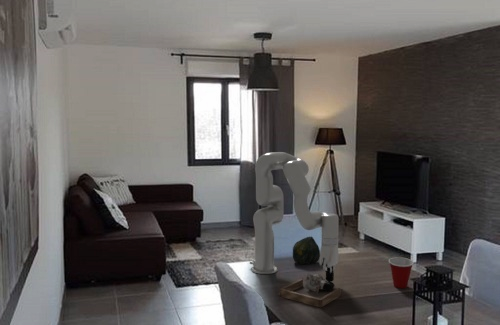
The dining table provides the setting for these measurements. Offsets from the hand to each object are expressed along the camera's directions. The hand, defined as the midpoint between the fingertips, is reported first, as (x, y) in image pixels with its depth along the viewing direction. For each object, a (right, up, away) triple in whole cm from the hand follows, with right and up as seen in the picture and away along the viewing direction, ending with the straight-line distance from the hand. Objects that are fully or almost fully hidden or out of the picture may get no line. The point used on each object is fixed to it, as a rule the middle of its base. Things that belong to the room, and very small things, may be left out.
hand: (329, 280), depth 210 cm
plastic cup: (+32, -3, -1) cm, 32 cm away
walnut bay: (-10, -3, -12) cm, 16 cm away
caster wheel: (-5, -3, -4) cm, 7 cm away
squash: (-6, 0, +36) cm, 37 cm away
